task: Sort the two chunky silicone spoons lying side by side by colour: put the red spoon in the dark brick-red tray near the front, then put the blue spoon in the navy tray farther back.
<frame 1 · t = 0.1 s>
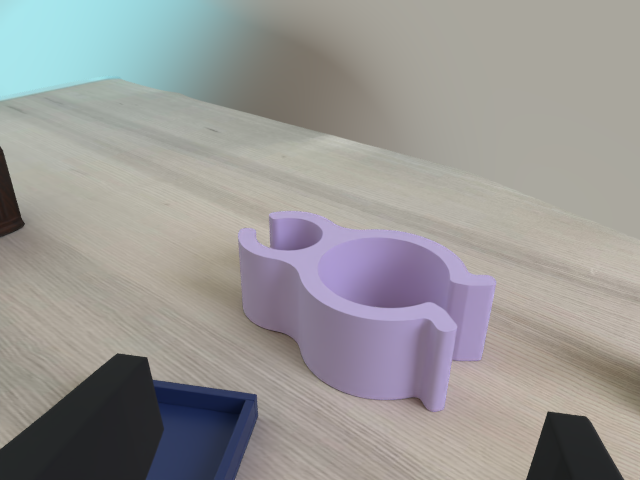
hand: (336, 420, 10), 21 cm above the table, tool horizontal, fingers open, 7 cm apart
clip: (350, 332, 47), on the table
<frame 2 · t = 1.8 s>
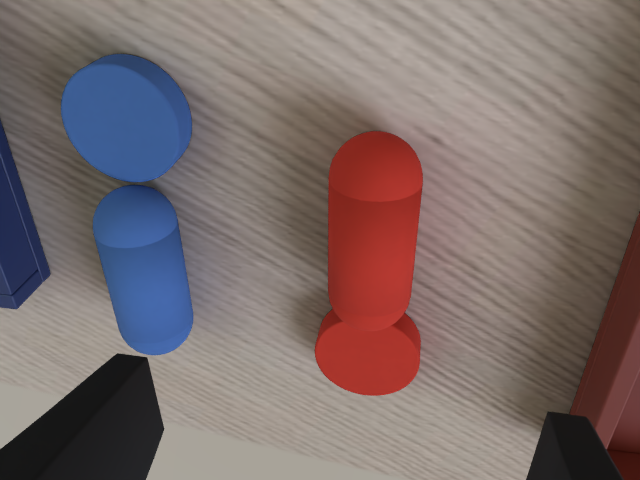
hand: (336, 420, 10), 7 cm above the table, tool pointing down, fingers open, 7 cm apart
blue spoon: (152, 199, 18), on the table
red spoon: (373, 271, 18), on the table
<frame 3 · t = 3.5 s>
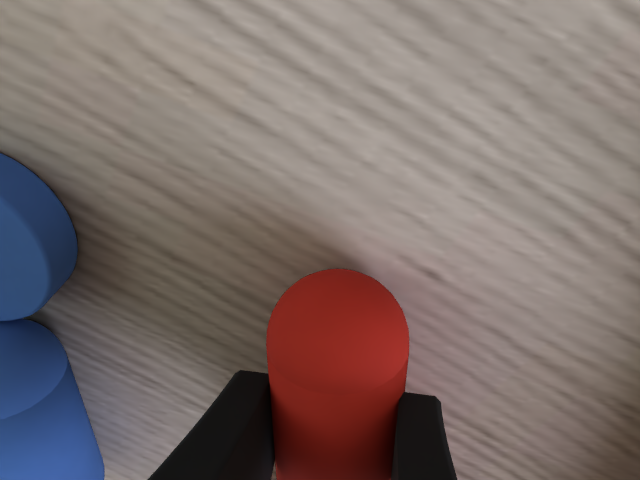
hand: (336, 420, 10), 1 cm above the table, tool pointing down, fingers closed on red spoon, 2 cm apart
blue spoon: (37, 329, 13), on the table
red spoon: (344, 429, 13), on the table, touching gripper
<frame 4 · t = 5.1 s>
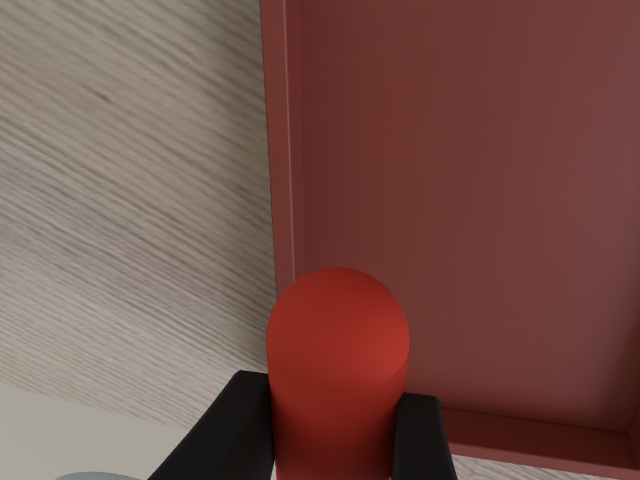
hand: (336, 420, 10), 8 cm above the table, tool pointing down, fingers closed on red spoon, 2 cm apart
red tray: (500, 190, 16), on the table
red spoon: (344, 428, 13), point 6 cm above the table, touching gripper
when the fingers open (2 cm above the table, at t = 6.9 s): red spoon stays where it is, resting on red tray.
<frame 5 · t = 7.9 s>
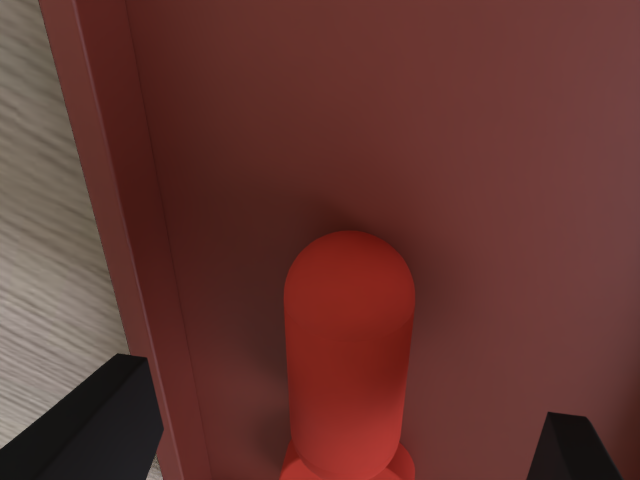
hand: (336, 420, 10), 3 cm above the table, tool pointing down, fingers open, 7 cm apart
red tray: (430, 285, 12), on the table
red spoon: (352, 389, 14), resting on red tray
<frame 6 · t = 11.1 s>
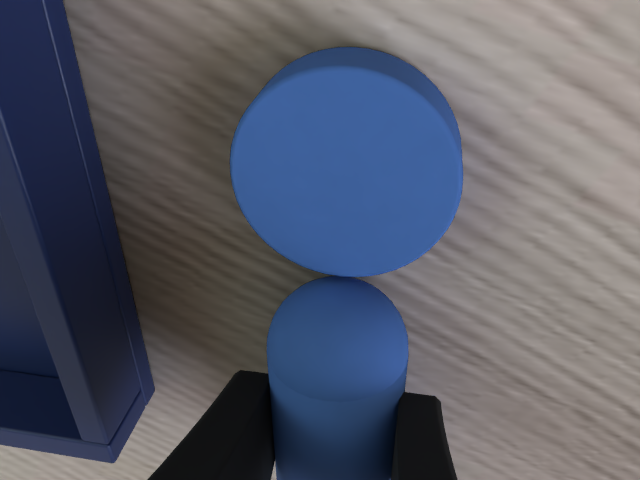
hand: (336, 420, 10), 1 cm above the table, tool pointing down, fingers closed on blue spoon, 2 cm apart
blue spoon: (347, 293, 11), on the table, touching gripper
when the fingers open (2 cm above the table, at t = 14.4 s): blue spoon stays where it is, resting on blue tray.
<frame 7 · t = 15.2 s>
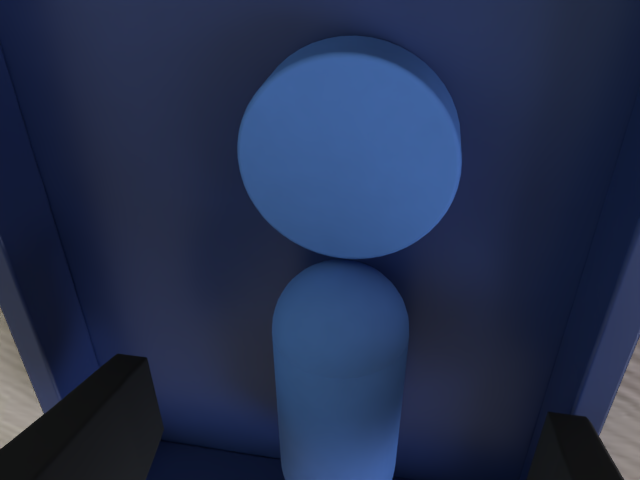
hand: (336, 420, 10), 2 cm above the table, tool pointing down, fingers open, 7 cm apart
blue tray: (303, 162, 10), on the table
blue spoon: (350, 277, 11), resting on blue tray
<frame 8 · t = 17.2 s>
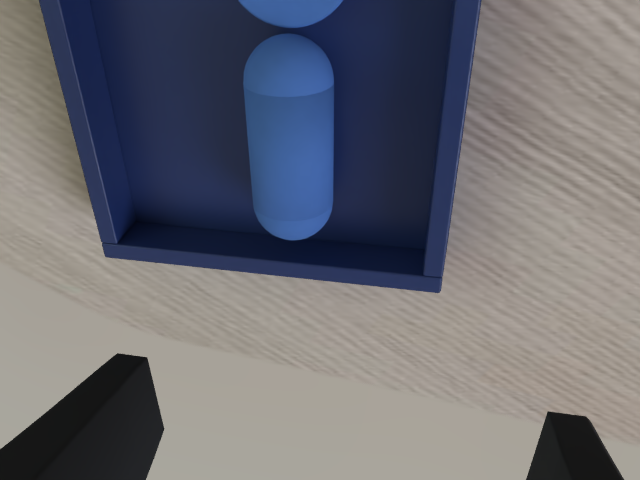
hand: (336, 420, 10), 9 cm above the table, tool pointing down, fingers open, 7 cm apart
blue spoon: (298, 61, 16), resting on blue tray
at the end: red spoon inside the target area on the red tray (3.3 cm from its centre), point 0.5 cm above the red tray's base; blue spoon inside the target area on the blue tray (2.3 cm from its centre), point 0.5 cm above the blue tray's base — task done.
